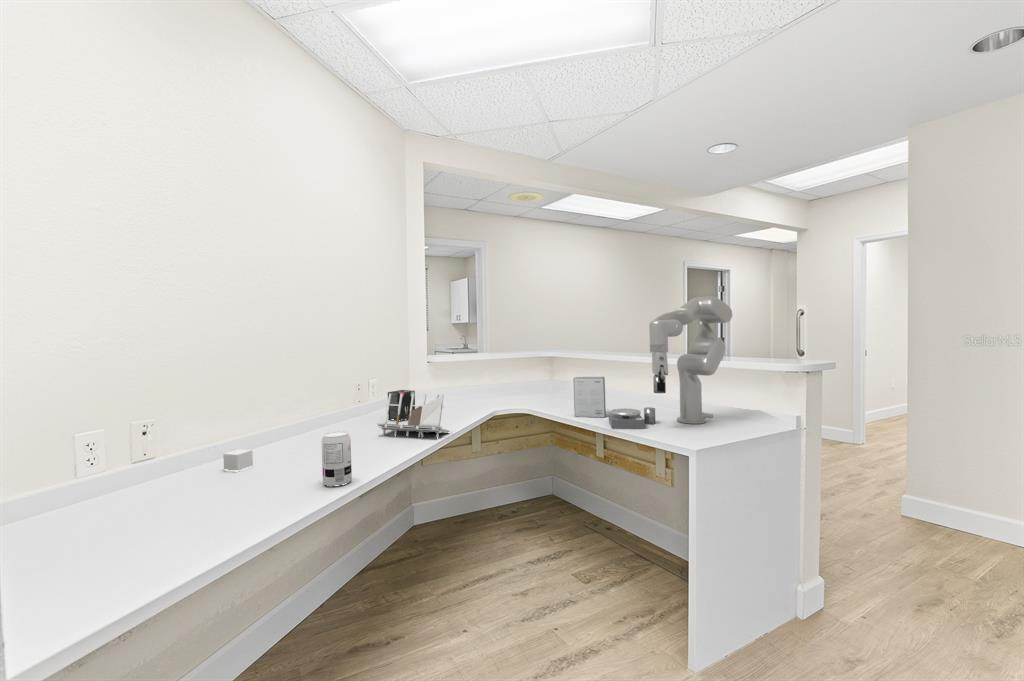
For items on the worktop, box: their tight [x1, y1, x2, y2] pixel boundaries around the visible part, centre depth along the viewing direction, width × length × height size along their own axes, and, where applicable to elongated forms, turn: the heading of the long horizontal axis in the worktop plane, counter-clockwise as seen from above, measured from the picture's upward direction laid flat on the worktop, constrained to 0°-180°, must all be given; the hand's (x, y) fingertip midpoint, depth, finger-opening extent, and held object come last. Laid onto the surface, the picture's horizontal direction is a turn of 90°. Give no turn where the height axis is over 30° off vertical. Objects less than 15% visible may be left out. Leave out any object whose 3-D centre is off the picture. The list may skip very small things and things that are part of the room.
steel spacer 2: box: [652, 376, 667, 394], centre depth 196 cm, size 5×5×7 cm
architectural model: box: [377, 386, 451, 438], centre depth 198 cm, size 20×29×21 cm
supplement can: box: [321, 430, 353, 486], centre depth 137 cm, size 8×8×15 cm
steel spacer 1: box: [643, 407, 656, 425], centre depth 210 cm, size 5×5×7 cm
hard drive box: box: [573, 376, 607, 418], centre depth 231 cm, size 16×8×20 cm, turn 74°
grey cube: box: [223, 448, 254, 470], centre depth 154 cm, size 6×6×6 cm
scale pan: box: [610, 408, 641, 417], centre depth 207 cm, size 13×13×3 cm
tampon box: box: [387, 389, 416, 421], centre depth 235 cm, size 11×9×15 cm
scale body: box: [608, 413, 645, 430], centre depth 207 cm, size 14×14×4 cm
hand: (659, 390), depth 196 cm, fingers closed on steel spacer 2, 5 cm apart
